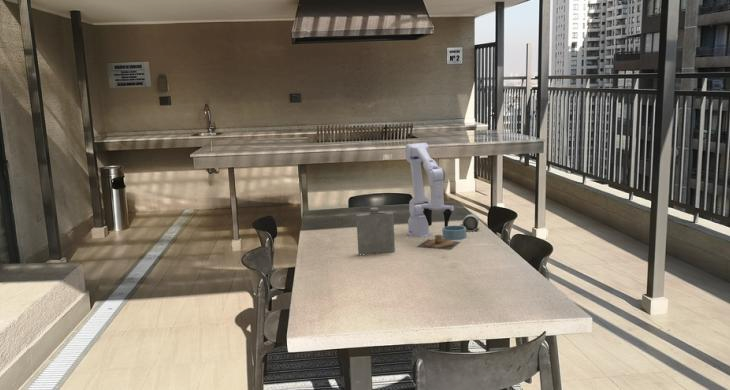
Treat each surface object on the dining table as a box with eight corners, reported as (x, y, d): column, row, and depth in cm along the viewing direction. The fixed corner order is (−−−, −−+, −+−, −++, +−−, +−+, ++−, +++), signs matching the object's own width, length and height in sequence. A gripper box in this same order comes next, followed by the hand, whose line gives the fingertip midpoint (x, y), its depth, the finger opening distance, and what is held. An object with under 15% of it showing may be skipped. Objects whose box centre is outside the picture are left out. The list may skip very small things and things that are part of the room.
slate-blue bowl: (439, 239, 277) (438, 230, 276) (447, 234, 286) (447, 224, 286) (461, 241, 272) (461, 231, 271) (469, 235, 281) (469, 226, 280)
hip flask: (358, 255, 257) (356, 210, 254) (358, 253, 261) (355, 208, 258) (395, 253, 258) (393, 207, 255) (394, 250, 262) (392, 205, 259)
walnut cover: (419, 246, 264) (419, 238, 264) (430, 239, 276) (430, 231, 275) (447, 249, 258) (447, 240, 258) (457, 241, 270) (457, 233, 269)
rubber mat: (416, 247, 265) (416, 246, 265) (428, 240, 277) (427, 239, 277) (450, 250, 257) (450, 249, 257) (461, 242, 269) (461, 241, 269)
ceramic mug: (479, 227, 296) (478, 212, 295) (478, 231, 288) (477, 215, 287) (457, 228, 298) (456, 213, 297) (456, 231, 291) (455, 216, 289)
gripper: (418, 196, 263) (419, 226, 265) (449, 197, 256) (450, 228, 259) (424, 194, 269) (425, 223, 272) (455, 195, 262) (456, 225, 265)
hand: (438, 225), depth 265 cm, fingers open, 7 cm apart
